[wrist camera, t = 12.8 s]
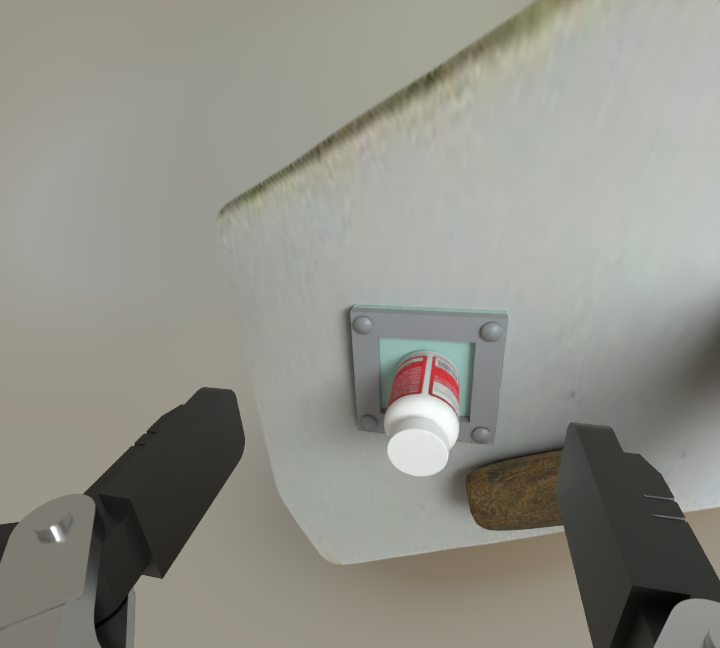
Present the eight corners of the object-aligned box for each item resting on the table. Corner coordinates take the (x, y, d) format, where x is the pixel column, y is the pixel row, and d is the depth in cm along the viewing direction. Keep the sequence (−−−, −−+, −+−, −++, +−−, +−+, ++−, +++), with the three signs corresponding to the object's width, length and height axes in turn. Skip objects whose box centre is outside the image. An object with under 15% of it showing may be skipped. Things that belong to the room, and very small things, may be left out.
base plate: (506, 311, 37) (508, 320, 36) (492, 434, 43) (494, 447, 42) (354, 304, 40) (349, 313, 39) (361, 420, 46) (357, 432, 45)
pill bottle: (393, 394, 43) (372, 474, 34) (400, 342, 40) (380, 414, 31) (453, 405, 42) (451, 492, 33) (465, 354, 39) (466, 431, 30)
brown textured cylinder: (604, 418, 40) (628, 470, 34) (629, 470, 42) (655, 528, 36) (459, 459, 46) (458, 509, 40) (486, 503, 48) (489, 557, 42)
